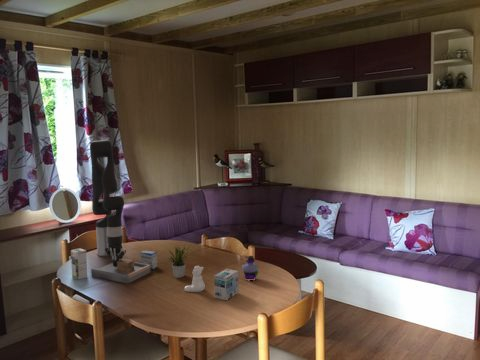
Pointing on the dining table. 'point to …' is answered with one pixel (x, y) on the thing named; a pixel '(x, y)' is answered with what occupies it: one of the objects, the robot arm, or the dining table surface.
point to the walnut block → (125, 265)
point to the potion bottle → (250, 268)
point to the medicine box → (149, 258)
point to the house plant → (178, 262)
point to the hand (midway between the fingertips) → (116, 266)
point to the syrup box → (79, 263)
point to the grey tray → (113, 274)
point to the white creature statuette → (196, 281)
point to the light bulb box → (226, 284)
